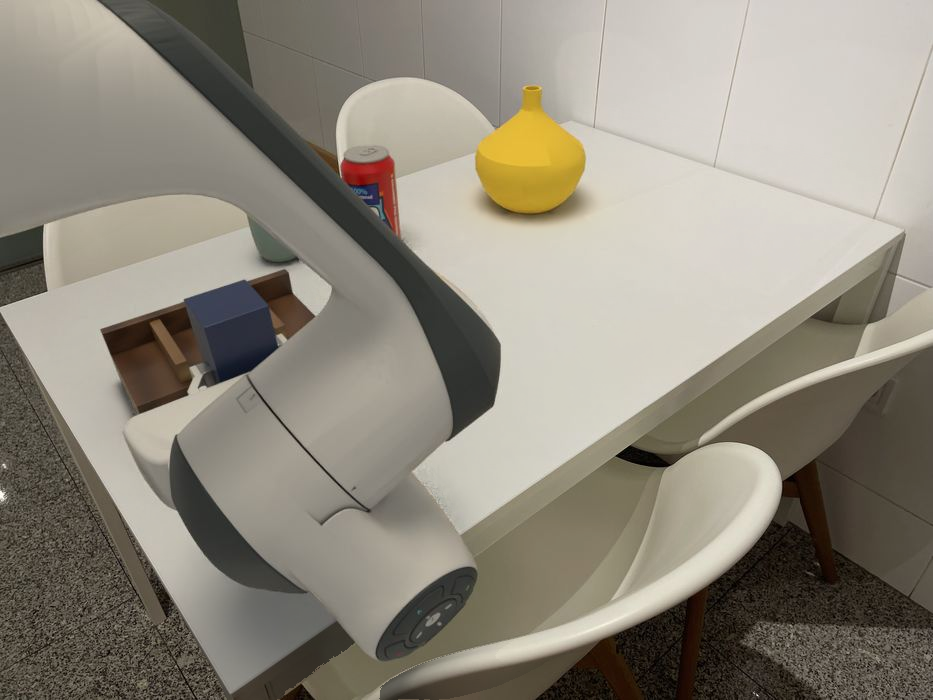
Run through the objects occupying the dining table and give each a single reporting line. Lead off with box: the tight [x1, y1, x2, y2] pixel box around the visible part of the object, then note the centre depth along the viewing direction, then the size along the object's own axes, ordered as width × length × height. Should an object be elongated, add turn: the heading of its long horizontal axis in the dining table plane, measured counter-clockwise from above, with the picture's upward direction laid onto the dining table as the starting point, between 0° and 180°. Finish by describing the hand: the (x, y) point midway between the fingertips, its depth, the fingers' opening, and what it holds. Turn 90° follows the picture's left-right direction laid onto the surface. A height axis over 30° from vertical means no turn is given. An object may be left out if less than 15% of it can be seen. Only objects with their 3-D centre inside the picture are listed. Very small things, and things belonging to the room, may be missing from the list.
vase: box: [474, 85, 587, 215], centre depth 115 cm, size 18×18×19 cm
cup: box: [246, 214, 297, 263], centre depth 104 cm, size 8×8×10 cm
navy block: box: [183, 279, 278, 384], centre depth 57 cm, size 5×5×13 cm
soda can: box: [339, 144, 402, 240], centre depth 104 cm, size 8×8×15 cm
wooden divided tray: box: [99, 268, 317, 415], centre depth 81 cm, size 22×12×8 cm, turn 125°
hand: (237, 356), depth 57 cm, fingers closed on navy block, 5 cm apart
